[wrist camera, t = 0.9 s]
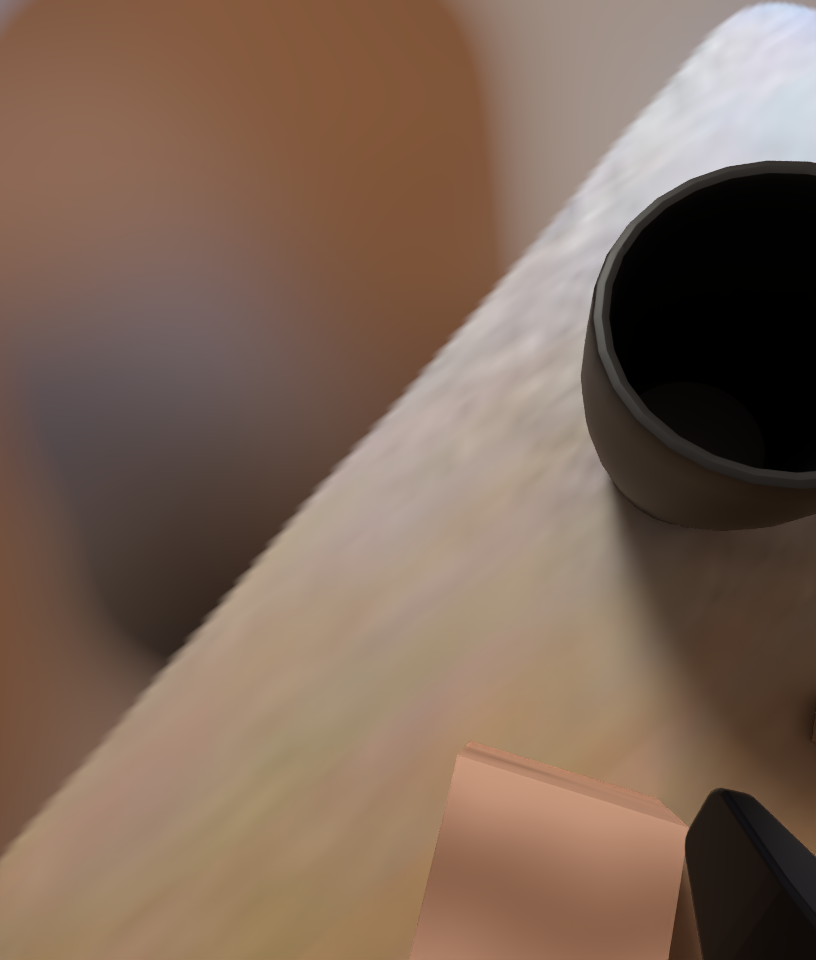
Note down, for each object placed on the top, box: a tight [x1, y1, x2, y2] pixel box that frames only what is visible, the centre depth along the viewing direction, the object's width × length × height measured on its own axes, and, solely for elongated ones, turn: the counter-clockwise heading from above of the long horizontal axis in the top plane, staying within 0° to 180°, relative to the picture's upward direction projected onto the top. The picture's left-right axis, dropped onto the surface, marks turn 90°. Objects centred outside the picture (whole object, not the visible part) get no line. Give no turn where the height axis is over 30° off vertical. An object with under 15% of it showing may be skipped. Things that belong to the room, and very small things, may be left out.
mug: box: [581, 161, 816, 531], centre depth 19 cm, size 8×12×10 cm
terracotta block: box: [409, 741, 689, 960], centre depth 19 cm, size 6×6×4 cm
